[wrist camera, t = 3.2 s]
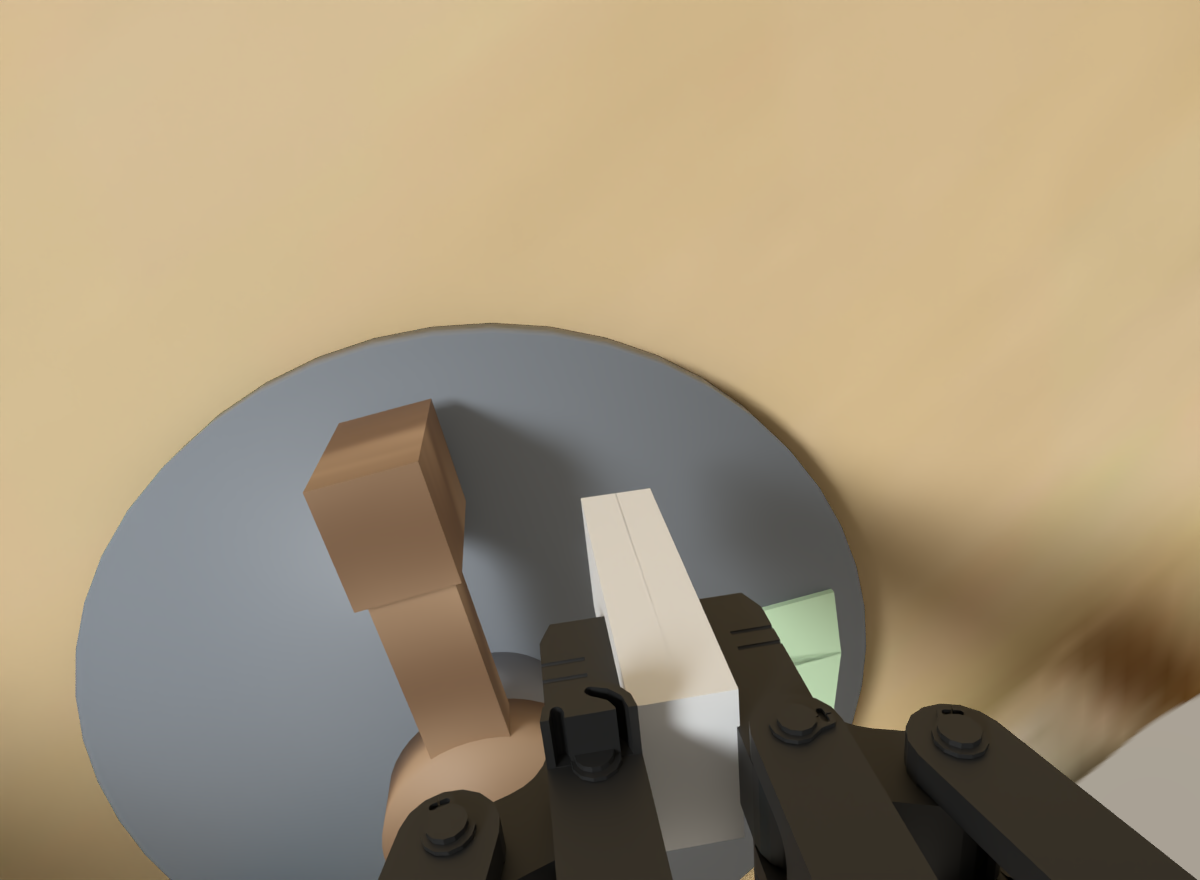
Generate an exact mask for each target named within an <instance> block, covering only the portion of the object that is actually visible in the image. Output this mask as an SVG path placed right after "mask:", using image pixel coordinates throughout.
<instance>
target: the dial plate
mask: <svg viewBox="0 0 1200 880" xmlns="http://www.w3.org/2000/svg"><path fill="white" fill-rule="evenodd" d="M427 399H432V402H433V405H434V408H435V411H436V414H437V417H438V420H439V423H440V426H441V429H442V432H443V435H444V438H445V441H446V444H447V447H448V449H449V452H450V455H451V458H452V461H453V464H454V467H455V470H456V473H457V476H458V479H459V482H460V485H461V488H462V491H463V494H464V497H465V500H466V508H465V527H464V546H463V566H462V573H463V576H464V578H465V581H466V584H467V587H468V590H469V592H470V595H471V598H472V601H473V604H474V607H475V609H476V612H477V615H478V618H479V621H480V623H481V626H482V629H483V632H484V635H485V637H486V640H487V643H488V646H489V649H490V652H491V654H492V657H493V660H494V663H495V666H496V668H497V671H498V674H499V677H500V680H501V683H502V685H503V688H504V691H505V694H506V697H507V699H526V700H533V701H537V702H542V703H544V693H543V681H542V669H541V668H542V667H541V657H540V642H541V640H542V638H543V636H544V634H545V632H546V631H547V629H548V627H549V625H551V624H557V623H563V622H570V621H576V620H582V619H589V618H595V617H596V614H595V609H594V603H593V594H592V586H591V578H590V570H589V562H588V553H587V545H586V537H585V529H584V521H583V513H582V504H581V498H586V497H593V496H600V495H607V494H614V493H621V492H627V491H634V490H641V489H648V488H650V489H651V492H652V494H653V496H654V499H655V501H656V503H657V505H658V508H659V510H660V512H661V514H662V517H663V519H664V521H665V524H666V526H667V528H668V530H669V533H670V535H671V537H672V540H673V542H674V544H675V546H676V549H677V551H678V553H679V555H680V558H681V560H682V562H683V565H684V567H685V569H686V571H687V574H688V576H689V578H690V580H691V583H692V585H693V587H694V590H695V592H696V594H697V596H698V599H703V598H709V597H716V596H722V595H728V594H735V593H743V594H744V595H746V596H747V597H748V598H750V599H751V600H753V601H754V602H756V603H757V604H758V605H760V606H761V607H762V609H763V610H764V612H765V614H766V616H767V617H768V619H769V621H770V623H771V624H772V628H774V630H775V631H776V633H777V635H778V637H779V638H780V642H781V643H782V644H783V646H784V647H785V649H786V651H787V653H788V654H789V656H790V658H791V660H792V661H793V663H794V665H795V667H796V668H797V670H798V672H799V674H800V675H801V677H802V679H803V681H804V683H805V684H806V686H807V688H808V690H809V691H810V693H811V695H812V697H813V698H816V699H818V700H820V701H822V702H824V703H826V704H827V705H829V706H831V707H832V708H833V709H834V710H835V711H836V712H837V713H838V714H839V715H840V717H841V718H842V719H843V721H844V722H846V723H849V724H852V722H853V718H854V714H855V710H856V706H857V703H858V699H859V695H860V691H861V687H862V680H863V670H864V661H865V652H866V633H865V609H864V602H863V597H862V592H861V587H860V582H859V577H858V572H857V567H856V564H855V561H854V559H853V556H852V553H851V551H850V548H849V545H848V543H847V540H846V537H845V535H844V532H843V529H842V527H841V525H840V523H839V521H838V519H837V518H836V516H835V514H834V512H833V511H832V509H831V507H830V505H829V504H828V502H827V500H826V498H825V497H824V495H823V493H822V491H821V489H820V488H819V487H818V485H817V484H816V483H815V482H814V480H813V479H812V478H811V477H810V475H809V474H808V473H807V471H806V470H805V469H804V468H803V466H802V465H801V464H800V463H799V461H798V460H797V459H796V458H795V456H794V455H793V454H792V453H791V451H790V450H789V449H788V448H787V447H786V446H785V445H784V444H783V443H782V442H781V441H780V440H779V439H778V438H777V437H776V436H775V435H773V434H772V433H771V432H770V431H769V430H768V429H767V428H766V427H765V426H764V425H763V424H762V423H761V422H759V421H758V420H757V419H756V418H755V417H754V416H753V415H752V414H751V413H750V412H749V411H748V410H746V409H745V408H744V407H743V406H742V405H741V404H739V403H738V402H736V401H735V400H733V399H732V398H731V397H729V396H728V395H726V394H725V393H723V392H722V391H720V390H719V389H717V388H716V387H715V386H713V385H712V384H710V383H709V382H707V381H706V380H704V379H703V378H701V377H699V376H697V375H695V374H693V373H691V372H689V371H687V370H685V369H683V368H681V367H679V366H677V365H675V364H673V363H671V362H669V361H667V360H665V359H663V358H661V357H659V356H657V355H655V354H652V353H649V352H646V351H643V350H640V349H637V348H634V347H631V346H628V345H625V344H622V343H619V342H616V341H613V340H610V339H607V338H605V337H600V336H595V335H590V334H584V333H579V332H574V331H569V330H564V329H559V328H554V327H548V326H532V325H516V324H500V323H483V324H467V325H452V326H437V327H429V328H424V329H419V330H413V331H408V332H403V333H398V334H393V335H388V336H383V337H378V338H373V339H370V340H367V341H364V342H361V343H358V344H355V345H352V346H349V347H346V348H343V349H341V350H338V351H335V352H332V353H329V354H326V355H323V356H320V357H317V358H315V359H313V360H311V361H309V362H307V363H305V364H303V365H301V366H299V367H297V368H295V369H293V370H291V371H289V372H287V373H285V374H283V375H281V376H279V377H276V378H274V379H272V380H270V381H268V382H266V383H265V384H263V385H262V386H260V387H259V388H257V389H256V390H254V391H253V392H252V393H250V394H249V395H247V396H246V397H244V398H243V399H241V400H240V401H238V402H237V403H235V404H234V405H232V406H231V407H229V408H228V409H226V410H225V411H223V412H222V413H220V414H219V415H218V416H217V417H216V418H215V419H214V420H213V421H211V422H210V423H209V424H208V425H207V426H206V427H205V428H204V429H203V430H202V431H200V432H199V433H198V434H197V435H196V436H195V437H194V438H193V439H192V440H191V441H189V442H188V443H187V444H186V445H185V446H184V447H183V448H182V449H181V450H180V451H179V452H178V453H177V454H176V455H175V456H174V457H173V458H172V459H171V460H170V461H169V462H168V463H167V464H166V465H165V466H164V467H163V468H162V469H161V470H160V471H159V473H158V474H157V475H156V476H155V478H154V479H153V480H152V481H151V482H150V484H149V485H148V486H147V487H146V489H145V490H144V491H143V492H142V494H141V495H140V496H139V497H138V499H137V500H136V501H135V502H134V503H133V505H132V506H131V507H130V508H129V510H128V511H127V513H126V514H125V516H124V518H123V520H122V521H121V523H120V525H119V527H118V528H117V530H116V532H115V534H114V535H113V537H112V539H111V541H110V542H109V544H108V546H107V548H106V549H105V551H104V553H103V555H102V557H101V559H100V562H99V565H98V567H97V570H96V573H95V576H94V578H93V581H92V584H91V586H90V589H89V592H88V594H87V597H86V600H85V603H84V608H83V613H82V619H81V624H80V630H79V635H78V641H77V646H76V701H77V707H78V713H79V719H80V724H81V730H82V736H83V741H84V744H85V747H86V750H87V752H88V755H89V758H90V761H91V764H92V767H93V769H94V772H95V775H96V778H97V781H98V783H99V785H100V787H101V788H102V790H103V792H104V794H105V796H106V798H107V799H108V801H109V803H110V805H111V807H112V809H113V810H114V812H115V814H116V816H117V818H118V819H119V821H120V822H121V824H122V825H123V826H124V828H125V829H126V830H127V831H128V833H129V834H130V835H131V837H132V838H133V839H134V841H135V842H136V843H137V845H138V846H139V847H140V848H141V850H142V851H143V852H144V854H145V855H146V856H147V857H148V858H149V859H150V860H151V861H152V862H153V863H154V864H155V865H156V866H157V867H158V868H159V869H160V870H161V871H162V872H163V873H164V874H165V875H166V876H167V877H169V878H170V879H171V880H378V878H379V876H380V873H381V871H382V869H383V866H384V864H385V859H384V854H383V849H382V833H383V826H384V819H385V813H386V806H387V799H388V792H389V786H390V780H391V774H392V771H393V768H394V766H395V763H396V761H397V759H398V757H399V755H400V753H401V752H402V750H403V749H404V748H405V746H406V745H407V744H408V742H409V741H410V740H411V739H412V738H413V737H414V736H415V735H416V734H417V733H418V732H419V730H418V727H417V725H416V722H415V720H414V718H413V715H412V713H411V711H410V708H409V706H408V703H407V701H406V699H405V696H404V694H403V692H402V689H401V687H400V684H399V682H398V680H397V677H396V675H395V672H394V670H393V668H392V665H391V663H390V661H389V658H388V656H387V653H386V651H385V649H384V646H383V644H382V642H381V639H380V637H379V634H378V632H377V630H376V627H375V625H374V623H373V620H372V618H371V615H370V613H369V611H368V609H367V610H363V611H360V612H356V613H354V611H353V609H352V606H351V604H350V602H349V599H348V597H347V595H346V592H345V590H344V588H343V586H342V583H341V581H340V579H339V576H338V574H337V572H336V569H335V567H334V565H333V562H332V560H331V558H330V555H329V553H328V551H327V548H326V546H325V544H324V541H323V539H322V537H321V534H320V532H319V530H318V527H317V525H316V523H315V520H314V518H313V516H312V513H311V511H310V509H309V506H308V504H307V502H306V499H305V497H304V495H303V491H304V489H305V487H306V485H307V484H308V482H309V480H310V478H311V476H312V474H313V472H314V470H315V468H316V466H317V464H318V462H319V460H320V458H321V457H322V455H323V453H324V451H325V449H326V447H327V445H328V443H329V441H330V439H331V437H332V435H333V433H334V432H335V430H336V428H337V426H338V424H339V423H341V422H345V421H349V420H353V419H356V418H360V417H364V416H368V415H371V414H375V413H379V412H382V411H386V410H390V409H394V408H397V407H401V406H405V405H409V404H412V403H416V402H420V401H424V400H427ZM744 834H745V837H742V838H737V839H731V840H726V841H720V842H715V843H710V844H704V845H699V846H693V847H688V848H682V849H677V850H671V851H666V853H667V857H668V861H669V866H670V870H671V874H672V878H673V880H740V879H741V878H742V877H743V876H744V875H745V874H747V873H748V872H749V871H750V870H751V869H752V868H753V867H754V847H753V837H752V834H751V831H750V829H749V826H748V823H747V820H746V818H745V815H744Z"/></svg>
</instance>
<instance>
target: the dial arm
mask: <svg viewBox="0 0 1200 880" xmlns="http://www.w3.org/2000/svg"><path fill="white" fill-rule="evenodd" d="M303 495H304V497H305V499H306V502H307V504H308V506H309V509H310V511H311V513H312V516H313V518H314V520H315V523H316V525H317V527H318V530H319V532H320V534H321V537H322V539H323V541H324V544H325V546H326V548H327V551H328V553H329V555H330V558H331V560H332V562H333V565H334V567H335V569H336V572H337V574H338V576H339V579H340V581H341V583H342V586H343V588H344V590H345V592H346V595H347V597H348V599H349V602H350V604H351V606H352V609H353V611H354V613H356V612H360V611H363V610H367V609H368V611H369V613H370V615H371V618H372V620H373V623H374V625H375V627H376V630H377V632H378V634H379V637H380V639H381V642H382V644H383V646H384V649H385V651H386V653H387V656H388V658H389V661H390V663H391V665H392V668H393V670H394V672H395V675H396V677H397V680H398V682H399V684H400V687H401V689H402V692H403V694H404V696H405V699H406V701H407V703H408V706H409V708H410V711H411V713H412V715H413V718H414V720H415V722H416V725H417V727H418V730H419V732H418V733H417V734H416V735H415V736H414V737H413V738H412V739H411V740H410V741H409V742H408V744H407V745H406V746H405V748H404V749H403V750H402V752H401V753H400V755H399V757H398V759H397V761H396V763H395V766H394V768H393V771H392V774H391V780H390V786H389V792H388V799H387V806H386V813H385V819H384V826H383V833H382V849H383V854H384V859H385V861H386V859H387V857H388V854H389V852H390V849H391V847H392V845H393V842H394V840H395V838H396V835H397V833H398V830H399V829H400V827H401V825H402V824H403V822H404V821H405V819H406V818H407V816H408V815H409V813H410V812H412V811H413V810H414V809H415V808H416V807H418V806H419V805H420V804H421V803H422V802H424V801H425V800H427V799H429V798H432V797H434V796H436V795H438V794H440V793H443V792H448V791H455V790H462V789H463V790H468V791H474V792H479V793H481V794H483V795H484V796H485V797H487V798H488V799H490V800H491V801H493V802H494V801H496V800H499V799H501V798H503V797H505V796H507V795H509V794H511V793H513V792H515V791H517V790H518V789H520V788H522V787H524V786H525V785H526V784H527V783H528V782H529V781H531V780H532V779H533V778H534V777H535V776H536V775H537V773H538V772H539V770H540V769H541V768H542V766H543V764H544V762H545V759H546V758H545V752H544V746H543V740H542V734H541V728H540V717H541V712H542V708H543V707H544V706H545V705H544V703H542V702H537V701H533V700H526V699H507V697H506V694H505V691H504V688H503V685H502V683H501V680H500V677H499V674H498V671H497V668H496V666H495V663H494V660H493V657H492V654H491V652H490V649H489V646H488V643H487V640H486V637H485V635H484V632H483V629H482V626H481V623H480V621H479V618H478V615H477V612H476V609H475V607H474V604H473V601H472V598H471V595H470V592H469V590H468V587H467V584H466V581H465V578H464V576H463V573H462V566H463V546H464V527H465V508H466V500H465V497H464V494H463V491H462V488H461V485H460V482H459V479H458V476H457V473H456V470H455V467H454V464H453V461H452V458H451V455H450V452H449V449H448V447H447V444H446V441H445V438H444V435H443V432H442V429H441V426H440V423H439V420H438V417H437V414H436V411H435V408H434V405H433V402H432V399H427V400H424V401H420V402H416V403H412V404H409V405H405V406H401V407H397V408H394V409H390V410H386V411H382V412H379V413H375V414H371V415H368V416H364V417H360V418H356V419H353V420H349V421H345V422H341V423H339V424H338V426H337V428H336V430H335V432H334V433H333V435H332V437H331V439H330V441H329V443H328V445H327V447H326V449H325V451H324V453H323V455H322V457H321V458H320V460H319V462H318V464H317V466H316V468H315V470H314V472H313V474H312V476H311V478H310V480H309V482H308V484H307V485H306V487H305V489H304V491H303Z"/></svg>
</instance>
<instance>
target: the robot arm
mask: <svg viewBox="0 0 1200 880" xmlns="http://www.w3.org/2000/svg"><path fill="white" fill-rule="evenodd" d="M581 504H582V513H583V521H584V529H585V537H586V545H587V553H588V562H589V570H590V578H591V586H592V594H593V603H594V609H595V614H596V617H595V618H589V619H582V620H576V621H570V622H563V623H557V624H551V625H549V627H548V629H547V631H546V632H545V634H544V636H543V638H542V640H541V642H540V657H541V667H542V668H541V669H542V681H543V693H544V705H545V706H544V707H543V708H542V712H541V717H540V728H541V734H542V740H543V746H544V752H545V758H546V759H545V762H544V764H543V766H542V768H541V769H540V770H539V772H538V773H537V775H536V776H535V777H534V778H533V779H532V780H531V781H529V782H528V783H527V784H526V785H525V786H524V787H522V788H520V789H518V790H517V791H515V792H513V793H511V794H509V795H507V796H505V797H503V798H501V799H499V800H496V801H494V802H493V801H491V800H490V799H488V798H487V797H485V796H484V795H483V794H481V793H479V792H474V791H468V790H463V789H462V790H455V791H448V792H443V793H440V794H438V795H436V796H434V797H432V798H429V799H427V800H425V801H424V802H422V803H421V804H420V805H419V806H418V807H416V808H415V809H414V810H413V811H412V812H410V813H409V815H408V816H407V818H406V819H405V821H404V822H403V824H402V825H401V827H400V829H399V830H398V833H397V835H396V838H395V840H394V842H393V845H392V847H391V849H390V852H389V854H388V857H387V859H386V861H385V864H384V866H383V869H382V871H381V873H380V876H379V878H378V880H673V878H672V874H671V870H670V866H669V861H668V857H667V853H666V851H671V850H677V849H682V848H688V847H693V846H699V845H704V844H710V843H715V842H720V841H726V840H731V839H737V838H742V837H745V834H744V815H745V818H746V820H747V823H748V826H749V829H750V831H751V834H752V837H753V847H754V874H755V880H1197V879H1195V878H1194V877H1193V876H1192V875H1191V874H1189V873H1188V872H1187V871H1185V870H1184V869H1183V868H1182V867H1180V866H1179V865H1178V864H1177V863H1175V862H1174V861H1173V860H1171V859H1170V858H1169V857H1168V856H1166V855H1165V854H1164V853H1163V852H1161V851H1160V850H1159V849H1158V848H1156V847H1155V846H1154V845H1153V844H1151V843H1150V842H1149V841H1147V840H1146V839H1145V838H1144V837H1142V836H1141V835H1140V834H1139V833H1137V832H1136V831H1135V830H1134V829H1132V828H1131V827H1130V826H1128V825H1127V824H1126V823H1125V822H1123V821H1122V820H1121V819H1119V818H1118V817H1117V816H1116V815H1114V814H1113V813H1112V812H1111V811H1110V810H1108V809H1107V808H1106V807H1104V806H1103V805H1102V804H1101V803H1099V802H1098V801H1097V800H1096V799H1094V798H1093V797H1092V796H1091V795H1089V794H1088V793H1087V792H1085V791H1084V790H1083V789H1082V788H1080V787H1079V786H1078V785H1077V784H1075V783H1074V782H1073V781H1072V780H1070V779H1069V778H1068V777H1067V776H1065V775H1064V774H1063V773H1061V772H1060V771H1059V770H1058V769H1056V768H1055V767H1054V766H1053V765H1051V764H1050V763H1049V762H1048V761H1046V760H1045V759H1044V758H1043V757H1041V756H1040V755H1039V754H1037V753H1036V752H1035V751H1034V750H1032V749H1031V748H1030V747H1029V746H1027V745H1026V744H1025V743H1024V742H1022V741H1021V740H1020V739H1018V738H1017V737H1016V736H1015V735H1013V734H1012V733H1011V732H1010V731H1008V730H1007V729H1006V728H1005V727H1003V726H1002V725H1001V724H1000V723H998V722H997V721H995V720H993V719H992V718H990V717H988V716H987V715H985V714H983V713H982V712H980V711H977V710H974V709H970V708H967V707H964V706H961V705H950V704H937V705H932V706H927V707H923V708H921V709H920V710H918V711H917V712H915V713H914V714H912V715H911V717H910V719H909V721H908V723H907V725H906V731H897V730H885V729H872V728H866V727H860V726H855V725H852V724H849V723H846V722H844V721H843V719H842V718H841V717H840V715H839V714H838V713H837V712H836V711H835V710H834V709H833V708H832V707H831V706H829V705H827V704H826V703H824V702H822V701H820V700H818V699H816V698H813V697H812V695H811V693H810V691H809V690H808V688H807V686H806V684H805V683H804V681H803V679H802V677H801V675H800V674H799V672H798V670H797V668H796V667H795V665H794V663H793V661H792V660H791V658H790V656H789V654H788V653H787V651H786V649H785V647H784V646H783V644H782V643H781V642H780V638H779V637H778V635H777V633H776V631H775V630H774V628H772V624H771V623H770V621H769V619H768V617H767V616H766V614H765V612H764V610H763V609H762V607H761V606H760V605H758V604H757V603H756V602H754V601H753V600H751V599H750V598H748V597H747V596H746V595H744V594H743V593H735V594H728V595H722V596H716V597H709V598H703V599H698V596H697V594H696V592H695V590H694V587H693V585H692V583H691V580H690V578H689V576H688V574H687V571H686V569H685V567H684V565H683V562H682V560H681V558H680V555H679V553H678V551H677V549H676V546H675V544H674V542H673V540H672V537H671V535H670V533H669V530H668V528H667V526H666V524H665V521H664V519H663V517H662V514H661V512H660V510H659V508H658V505H657V503H656V501H655V499H654V496H653V494H652V492H651V489H650V488H648V489H641V490H634V491H627V492H621V493H614V494H607V495H600V496H593V497H586V498H581Z"/></svg>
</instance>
